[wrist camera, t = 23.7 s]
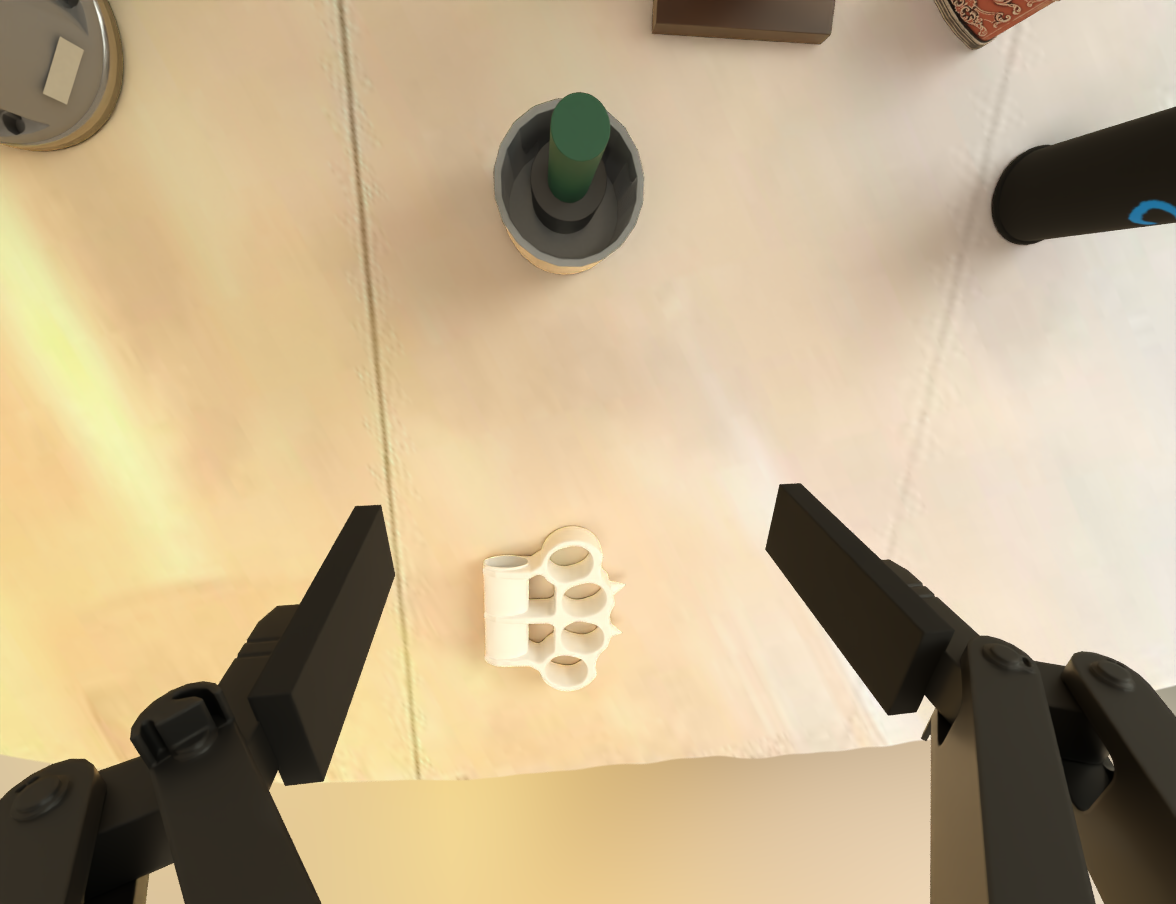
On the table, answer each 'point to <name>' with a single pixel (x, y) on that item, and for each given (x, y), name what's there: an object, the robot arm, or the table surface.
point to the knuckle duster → (549, 610)
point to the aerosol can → (1091, 183)
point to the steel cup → (606, 223)
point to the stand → (746, 19)
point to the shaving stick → (571, 165)
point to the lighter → (986, 17)
